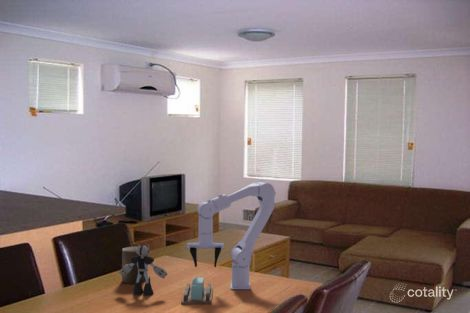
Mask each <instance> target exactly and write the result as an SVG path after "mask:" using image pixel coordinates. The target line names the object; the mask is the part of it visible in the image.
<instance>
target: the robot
mask: <svg viewBox="0 0 470 313" xmlns="http://www.w3.org/2000/svg"><path fill="white" fill-rule="evenodd" d="M140 244H141V242H140V241H138V244H137V247H138V249H136V254H138V255H139V256H133V257H132V258H131V262H132V263H131V264H126V265H125V266H124V267H123V268H122V267H121V269H120V270H119V273H120V275H121V277H122V276H124V275H126V274H127V273H129V272H130V271H131V269H132V266H133V265H134V264H136V263H137V267H138V276H137V278H136V275H135V279H136V282H135V284H133V285H134V286H133V290H132V291H133V292H132V293H133V295H135V296H139V295H143V296H144V297H145V296H146V297H147V296H152V295H154V290H153V287H152V284H151V276H149V274H148V272H149V270H148V269H149V268H148V266H151V267H152V269H153V271H154V273H155V274H156V275H157V276H158V277H160V278H161V279H165V277H167V275H168V272H167V271H166V270H165V269H164V268H163V267H162V266H160V265H155V264H153V263H154V261H155V258H154V257H151V256H149V254H150V242H148V243H147V245H145V244H142V245H140ZM140 256H141V257H140ZM142 275H144V280H145V281H144V283H145V284H144V287H143V285H142V283H140V282H141V280H140V279H142V278H141V276H142Z"/></svg>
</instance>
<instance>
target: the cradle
mask: <svg viewBox="0 0 470 313" xmlns="http://www.w3.org/2000/svg"><path fill="white" fill-rule="evenodd" d="M213 291H214V288H213V287H212V284H211V283H207V287H204V292H203V297H202V300H191V283H186V286H185V288H184V291H183V294H182V298H181V301H180V305H212V300H213Z"/></svg>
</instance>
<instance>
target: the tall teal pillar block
mask: <svg viewBox="0 0 470 313" xmlns="http://www.w3.org/2000/svg"><path fill="white" fill-rule="evenodd" d="M204 283H205V280H204V277H193V279H192V282H191V284H190V288H191V300H202V297H203V292H204V288H205V287H204V285H205V284H204Z"/></svg>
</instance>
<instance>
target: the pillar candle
mask: <svg viewBox="0 0 470 313" xmlns="http://www.w3.org/2000/svg"><path fill="white" fill-rule="evenodd" d="M136 249H138V246H134V245H133V246H127V247H123V248H122V249H121V269H122V268H123V267H124V266H125V265H126V264H131V263H132V262H131V258H132V257H133V256H139V255H138V254H136ZM140 257H141V256H140ZM135 275H136V278H137V276H138V267H137V263H136V264H134V265H133V266H132V269H131V271H130V272H129V273H127V274H126V275H124V276H122V275H121V280H122V281H121V282H122V283H124V284H128V285H135V282H136V279H135ZM141 278H142V279H140V280H141V282H140V283H141V284H142V283H145V280H144V275H142V276H141Z"/></svg>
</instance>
